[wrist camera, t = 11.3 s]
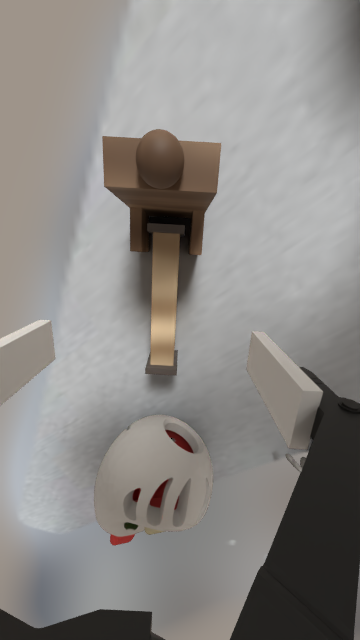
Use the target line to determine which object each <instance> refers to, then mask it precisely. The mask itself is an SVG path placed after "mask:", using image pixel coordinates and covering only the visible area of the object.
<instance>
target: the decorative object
mask: <svg viewBox="0 0 360 640" xmlns="http://www.w3.org/2000/svg"><path fill="white" fill-rule="evenodd" d="M171 438H174V439H175V440H174V442H173V441H172V440H171ZM212 486H213V468H212V462H211V459H210V455H209V452H208V450H207V448H206V446H205V444H204V442H203V441H202V439H201V437H200V436H199V435H198V434H197V433H196V432H195V431H194V430H193V429H192V428H191V427H190V426H189V425H187V424H186V423H185V422H183V421H181V420H179V419H177V418H175V417H172V416H167V415H151V416H147V417H144V418H142V419H140V420H137V421H136V422H134V423H132V424H131V425H130V426H128V429H127V430H126V429H125V430H124V431H123V432H122V433H121V434H120V435H119V436H118V437H117V438H116V439H115V441H114V442H113V443H112V445H111V446H110V448H109V449H108V451H107V453H106V455H105V457H104V458H103V460H102V463H101V465H100V468H99V471H98V474H97V478H96V483H95V490H94V506H95V514H96V519H97V521H98V523H99V525H100V526H101V528H102V529H103V530H105V531H106V532H107V533H110V534H111V536H110V542H111V544H112V545H118V544H122V543H127V542H129V541H131V540H132V539H133V537H134V535H135V534H136V533H139V532H142V531H144V530H145V532H146V533H147V534H149V535H151V534H155V533H160V532H165V531H168V532H170V531H171V532H173V531H182V530H186V529H189V528H192V527H193V526H195V525H197V524H198V523H199V522H200V521H201V520H202V519H203V517H204V515H205V513H206V511H207V509H208V506H209V502H210V498H211V494H212Z"/></svg>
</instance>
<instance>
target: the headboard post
mask: <svg viewBox="0 0 360 640" xmlns="http://www.w3.org/2000/svg"><path fill="white" fill-rule="evenodd" d="M102 137H103V164H104V187H106V188H107V189H108V190H109V191H110V192H112V193H113V194H114V195H115V196H116V197H118V198H119V199H120V200H121V201H122V202H124V203H125V204H126V205H127V206H128V207H130V251H136V252H149V232H148V231H147V223H149V216H154V217H171V218H189V219H191V227H190V243H189V254H191V255H201V253H202V240H203V227H204V214H205V212H206V210H207V208H208V207H209V205H210V203H211V202H212V200H213V198H214V197H215V195H216V193H217V185H218V174H219V163H220V151H221V143H209V142H193V141H178V139H177V138H176V137H175V136H174V135H173V134H171V133H170V132H168V131H165V130H161V129H157V130H152V131H150V132H148V133H147V134H145V135H144V136H143V137H142V138H125V137H108V136H102Z"/></svg>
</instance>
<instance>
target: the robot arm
mask: <svg viewBox="0 0 360 640" xmlns="http://www.w3.org/2000/svg"><path fill="white" fill-rule="evenodd" d="M54 360H55V350H54V342H53V333H52V324H51V321H49V320H38V321H36V322H34V323H32V324H30V325H28V326H26V327H24V328H22V329H20V330H18V331H16V332H13V333H12V334H9V335H7V336H5V337H3V338H1V339H0V406H1V405H2V404H3V403H4V402H6V401H7V400H8V399H9V398H10V397H11V396H13V395H14V394H15V393H16V392H17V391H19V390H20V389H21V388H22V387H23V386H24V385H26V383H28V382H29V381H30V380H31V379H33V378H34V377H35V376H36V375H37V374H38V373H40V372H41V371H42V370H43V369H44V368H45V367H47V366H48V365H49V364H50V363H51V362H52V361H54ZM246 369H247V371H248V373H249V375H250V377H251V379H252V380H253V382H254V384H255V386H256V388H257V390H258V392H259V394H260V395H261V397H262V399H263V401H264V403H265V405H266V407H267V408H268V410H269V412H270V414H271V416H272V418H273V420H274V421H275V423H276V425H277V427H278V429H279V431H280V433H281V435H282V436H283V438H284V440H285V442H286V444H287V446H288V448H289V449H307V450H308V446H309V442H310V439H311V438H312V440H313V443H312V445H311V448H310V450H309V453H308V455H307V458H306V461H305V463H304V466H303V468H302V471H301V473H300V476H299V478H298V481H297V483H296V486H295V488H294V491H293V493H292V496H291V498H290V501H289V503H288V506H287V508H286V511H285V513H284V516H283V518H282V521H281V523H280V526H279V528H278V531H277V533H276V536H275V538H274V541H273V544H272V546H271V548H270V551H269V553H268V556H267V558H266V561H265V563H264V565H263V566H261V568H260V569H259V571H258V573H257V575H256V578H255V580H254V582H253V585H252V587H251V589H250V592H249V594H248V597H247V599H246V602H245V604H244V607H243V609H242V611H241V614H240V616H239V619H238V621H237V623H236V626H235V628H234V631H233V633H232V636H231V638H230V640H354V625H355V613H356V600H357V589H358V577H359V565H360V404H359V403H357V402H355V401H353V400H350V399H346V398H341V397H338V396H337V395H336V394H335V393H334V392H333V391H331V390H330V389H329V388H328V387H327V386H326V385H325V384H324V383H323V382H322V381H321V380H320V379H318V377H317V376H316V375H315V374H313V373H312V372H311V371H309V370H307V369H305V368H304V367H298V366H297V365H296V364H295V363H294V362H293V361H292V360H291V359H290V358H289V357H288V356H287V355H286V354H285V353H284V352H283V351H282V350H281V349H280V348H279V347H278V346H277V345H276V344H275V343H274V342H273V341H272V340H271V339H270V338H269V337H268V336H267V335H266V334H265V333H264V332H256V331H252V335H251V342H250V348H249V355H248V361H247V368H246ZM151 627H152V612H144V611H122V610H101V609H100V610H97V611H94V612H91V613H88V614H84V615H81V616H78V617H76V618H72V619H69V620H66V621H63V622H60V623H57V624H54V625H50V626H48V627H44V628H34V627H32V626H30V625H28V624H26V623H24V622H23V621H21V620H19V619H17V618H15V617H14V616H12V615H10V614H8V613H7V612H5V611H3V610H1V609H0V640H165V639H163V638H162V637H160V636H158V635H156V634H154V633H152V632H151Z"/></svg>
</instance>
